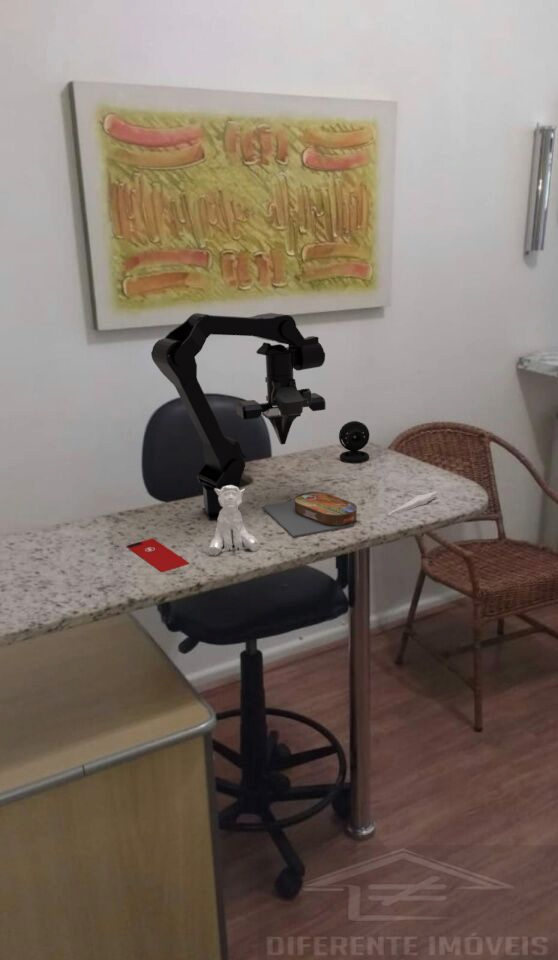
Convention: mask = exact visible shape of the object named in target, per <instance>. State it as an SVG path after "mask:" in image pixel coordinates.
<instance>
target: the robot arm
mask: <svg viewBox="0 0 558 960" xmlns="http://www.w3.org/2000/svg"><path fill="white" fill-rule="evenodd" d="M211 335H217V336H240V337H241V336H242V337H244V336H246V337H255V338H258V339H261V340H266V341H271V342H275V343H278V344H273V345H272V344H271V343H269V342H263V343H262V345H261V346H260V347H259V348H258V349H257V350H256V354H257V355H261V356H265V366H266V367H265V368H266V370H265V371H266V373H265V374H266V377H264V379H265V383H266V387H267V388H266V389H267V391H266V393H267V395H266V396H265V397H266V398H265V400H266V402H263V403H259V402H258V401H256V400H254V399H250V400H241V401H238V402H237V404H236V415H237V416H239V417H240V418H242V419H243V420H251V419H252V420H253V419H259V418H260V417H261V415H262V416H263V417H265V418H266V419H268V421H269V422H270V423H271V426H272V428H273V430H274V433H275V435H276V437H277V440H278V441H279V445H280V444H281V446H282V445H286V442H287V439H288V436H289V433H290V430H291V427H292V424H293V422H294V421H295V420H296V418H298V417H301V416H302V413H303V410H304V408H309V409H310V410H311V411H312V412H318V411H325V410H326V409H327V407H326V406H327V405H326V399H325V398H324V397H323V396H321V395H320V394H318V393H316V392H312V391H311V389H310V388H302V389H297V383H296V379H295V378H294V370H295V371H296V372H297V371H303V370H309V369H310V370H311V369H315V368H316V369H317V368H320V367H322V366H323V365H324V363H325V359H326V353H325V349H324V348H323V346H322V344H321V343H320V342H319V336H314V335H311V336H307V337H304V335H303V334H302V333H301V331H300V330H299V329H298V327H297V323H296V321H295V319H294V317H293V316H292V315H289V314H283V313H274V312H267V313H262V314H257V315H253V316H248V317H247V316H233V315H232V316H231V315H229V316H228V315H216V314H215V315H213V314H207V313H205V314H204V313H199V312H196V313H192V314H191V315H190V316H189V317H188V318H187V319H186V320H185V321H184V322H183V323H181V324H180V325H179V326H177V327H175V328H174V329H172V330H170V332H169V333H168V334H167V335H166V336H165V337H163V338H161V339H159V340H157V341H156V342H155V343H154V345H153V347H152V351H151V353H150V355H151V359H152V361H153V363H154V365H155V366H156V367H157V368H158V370H159V371H160V372H161V374H162V375H163V376H164V377H166V379H167V380H169V382H170V383H171V384H172V385H173V386H174V387H175V390H176V392H177V394H178V395H179V397H180V399H181V402H182V403H183V406H184V407H185V409H186V412H187V413H188V415H189V418H190V420H191V422H192V424H193V426H194V427H195V430H196V431H197V434H198V435H199V437H200V440H201V442H202V444H203V445H202V446H203V447H202V448H203V449H202V451H203V452H202V455H203V459H204V463H203V465H202V466H201V468H200V469H199V470H198V473H197V474H196V478H197V480H198V482H199V484H200V485H201V484H202V492H203V493H202V495H203V507H202V512H203V513H204V515H206V517H207V518H208V519H209V520H210V521H211V520H213V521H214V520H217V519H218V517H219V512H220V511H221V509H222V508H223V507H222V506H220V503H219V500H218V497H219V496H218V495H217V493H216V491H215V490H214V489H215V488H216V489H219V490H221V489H222V487H224V486H227V485H228V486H229V485H233V486H236V487H238V488H239V487H240V484H241V480H242V475H243V473H244V471H245V468H246V461H245V458H247V456H246V455H245V454H244V453H243V451H242V449H241V445H240V443H239V441H237V440H235V439H233V438H230V437H227V436H225V435H224V432H223V430H222V427H221V426H220V424H219V422H218V420H217V418H216V416H215V414H214V411H213V409H212V408H211V406H210V403H209V401H208V400H207V396H206V394H205V393H204V390H203V389H202V388H203V387H202V386H201V385H200V383H199V380H198V365H197V361H196V358H195V357H196V356H197V355H198V354H199V353H200V352H201V351H202V349H203V347H204V345H205V342H206V341H207V339H208V338H209V337H210V336H211ZM285 345H288V346H285ZM238 509H239V510H240V506H239V507H238Z"/></svg>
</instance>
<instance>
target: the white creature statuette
mask: <svg viewBox="0 0 558 960" xmlns="http://www.w3.org/2000/svg"><path fill="white" fill-rule="evenodd" d="M214 490H215V491H216V493H217V495H218V496H219V497H218V500H219V503H220V506H222V507H223V508H222V509H221V511H220V512H219V517H218V519H216V520H217V523H216V527H215V528H216V529H215V532H214V537H213V539H212V540H211V541H210V544H209V546H208V553H209V555H210V556H214V557H215V556H219V554H220V553H225V552H229V550H230V551H231V552H232V551H233V550H235V551H238V550H239V551H242V550H246V549H248V550H250V551H252V552H257V551H258V550H259V547H260V546H259V545H260V544H259V541H258V540H257V539H256V537H255V536H254V535H252V534H250V533H249V532H248V530H247V529H246V528H245V524H244V522H243V521H244V519H243V517H242V513H241V511H240V506H241V504H243V496H244V493H245V490H246V488H242V489H239V488H238V487H236V486H233V485H229V486H228V485H227V486H224V487H222V489H221V490H219V489H216V488H215V489H214ZM238 507H239V509H238ZM233 546H234V547H233Z"/></svg>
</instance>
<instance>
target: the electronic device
mask: <svg viewBox="0 0 558 960" xmlns="http://www.w3.org/2000/svg"><path fill="white" fill-rule="evenodd" d="M126 548H127V549H128V550H130V552H133V553H134V554H135V555H136V556H138V557H139V558H141V559H142V560H144V561H145V562H146V563H147V564H149V565H150V566H152V567H153V568H155V569H156V570H157V571H159V572H160V573H165V572H169V571H172V570H175V569H178V568H181V567H184V566H187V565H190V561H188V560H186V559H184V558H183V557H182V556H180V555H179V554H178V553H175V552H174V551H173V550H171V549H170V548H168V547H166V546H165V545H164V544H162V543H161V542H159V541H157V540H156V539H155V538H149V539H145V540H142V541H137V542H134V543H130V544H128V545H126Z"/></svg>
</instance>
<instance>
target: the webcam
mask: <svg viewBox="0 0 558 960" xmlns="http://www.w3.org/2000/svg"><path fill="white" fill-rule="evenodd" d="M338 440H339V443H340V444H341V446H342V447H343V448H344V449H345V450H347V451H343V452H341V453H340V454H339V460H341V462H344V463H349V464H361V463H364V462H367V461H368V460H369V459H370V454H369V453H368V452H366V451H362V449H364V448H365V447H366V446H367V445H368V443H369V440H370V431H369V428H368V426H366V424H365V423H363V422H360V421H357V420H351V421H348V422H346V423H345V424H343V426H341V428H340V430H339V433H338Z"/></svg>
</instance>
